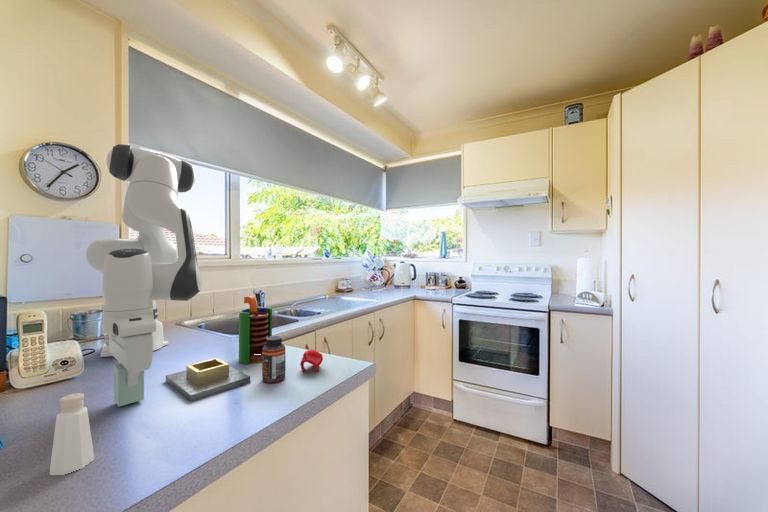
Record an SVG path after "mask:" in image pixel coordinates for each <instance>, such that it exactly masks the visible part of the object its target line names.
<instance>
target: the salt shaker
mask: <svg viewBox="0 0 768 512" xmlns="http://www.w3.org/2000/svg"><path fill="white" fill-rule="evenodd" d="M84 398H85V394H84V393H80V392H77V393H71V394H67V395H65V396H63V397H61V398H60V399H59V404H60V405H59V406H60V407H59V408H60V412H59V413H57V414H56V419H55V424H54V425H55V426H54V432H53V441H52V449H51V457H50V458H51V459H50V465H49V475H50V476H66V475H68V473H69V474H72V473H73V471H74V472H76V470H77V471H80V470H82V469H84V468H85V467H87V466H88V465H89V464H90V462H91V463H92V462H93V461H94V460H95V452H94V446H93V439H92V433H91V432H92V431H91V426H90V424H91V423H90V418H89V411H88V407H86V406H84V403H85V402H84V401H85V399H84ZM86 465H87V466H86ZM79 469H80V470H79ZM71 472H72V473H71ZM65 474H66V475H65Z"/></svg>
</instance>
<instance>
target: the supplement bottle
mask: <svg viewBox="0 0 768 512" xmlns="http://www.w3.org/2000/svg"><path fill="white" fill-rule="evenodd" d="M285 378H286V345H285V344H284V343H283V340H282V336H280V335H272V336H270V337H267V338H266V345H265V346H264V347H263V349H262V362H261V379H262V382H264V383H267V384H273V383H279V382H281V381H283V380H285Z"/></svg>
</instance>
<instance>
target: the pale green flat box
mask: <svg viewBox="0 0 768 512" xmlns="http://www.w3.org/2000/svg"><path fill="white" fill-rule="evenodd" d="M126 378H127V370H126V369H125V368H124V367H123V366H122V365H121V364H119V363H117V364H114V365H113V401H114V403H115V404H116V406H117V407H118V408H119V407H123V406H126V405H130V404H133V403H137V402H139V401H143V400H145V370H144V371H140V373H139V377H138V384H137V385H136V386H132V387H129V386H128V385H127V379H126Z"/></svg>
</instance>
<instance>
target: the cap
mask: <svg viewBox="0 0 768 512" xmlns="http://www.w3.org/2000/svg"><path fill="white" fill-rule="evenodd" d="M323 359H324V358H323V354H322V353H320V352H319V351H317V350H315V349H308V350H306V351H305V352H304V353H303V354H302V358H301V360H300V364H299V365H300V368H301V370H302V371H303V372H305V371H306V368H305V363H308V364H310V365H312V366H313V367H314V369H315V371H316V373H319V371H320V369H319V366H320V365H321V364H322V363H323Z"/></svg>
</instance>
